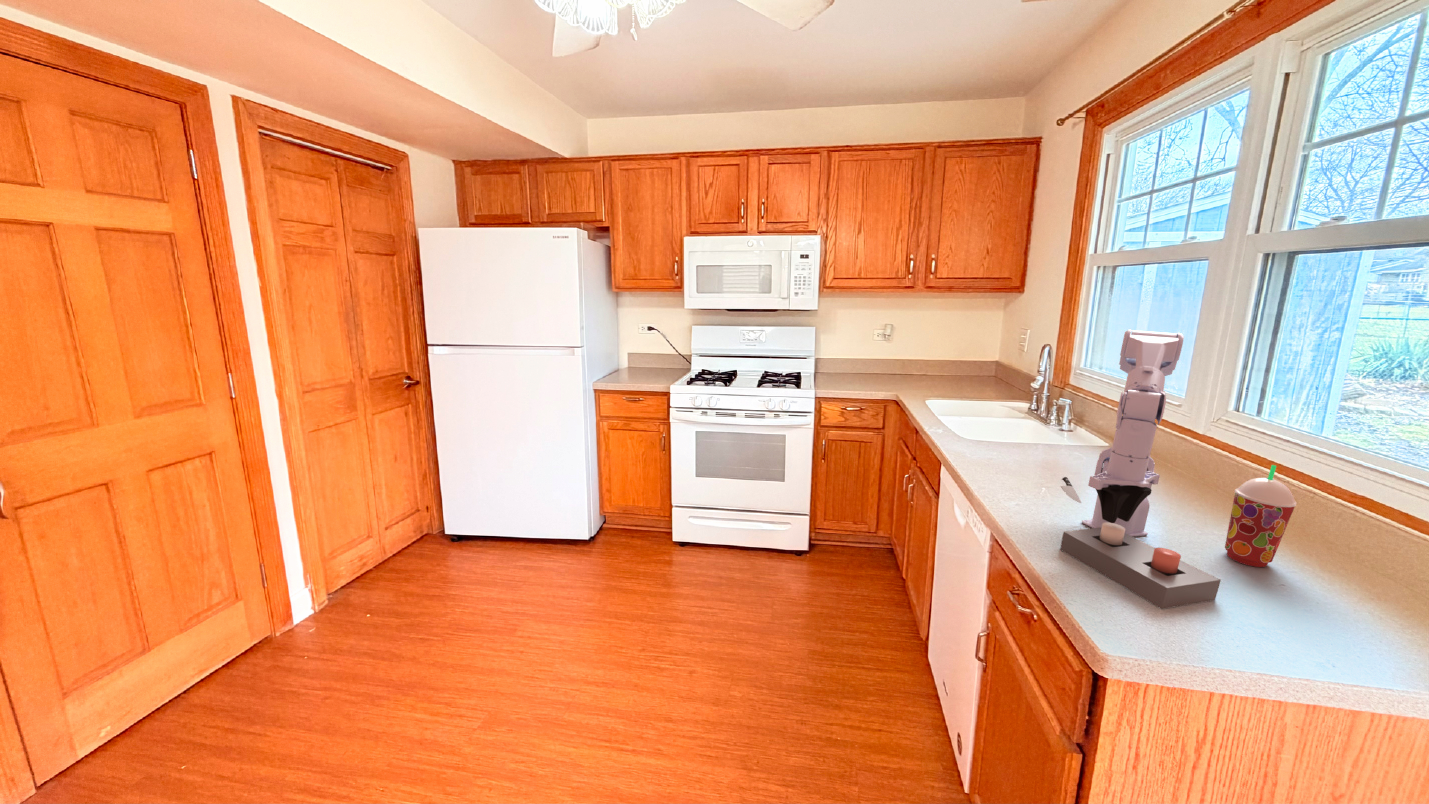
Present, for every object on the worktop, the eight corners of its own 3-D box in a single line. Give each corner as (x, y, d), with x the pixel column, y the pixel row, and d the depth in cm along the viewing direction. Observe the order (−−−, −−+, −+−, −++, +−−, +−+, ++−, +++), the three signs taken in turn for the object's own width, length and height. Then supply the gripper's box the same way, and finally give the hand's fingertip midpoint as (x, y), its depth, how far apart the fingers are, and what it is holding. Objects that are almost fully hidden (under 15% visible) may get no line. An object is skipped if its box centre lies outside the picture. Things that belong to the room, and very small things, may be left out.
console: (1106, 543, 111) (1110, 526, 110) (1214, 600, 92) (1220, 579, 91) (1060, 549, 108) (1063, 531, 107) (1161, 609, 89) (1167, 587, 88)
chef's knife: (1068, 505, 130) (1083, 507, 129) (1069, 501, 130) (1083, 502, 129) (1054, 478, 147) (1067, 479, 146) (1055, 474, 147) (1067, 476, 146)
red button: (1161, 561, 96) (1164, 546, 95) (1182, 572, 93) (1186, 556, 92) (1145, 563, 95) (1149, 548, 95) (1166, 574, 92) (1170, 559, 91)
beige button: (1109, 535, 106) (1112, 521, 105) (1126, 544, 102) (1130, 530, 101) (1094, 537, 105) (1097, 523, 104) (1112, 546, 101) (1115, 531, 101)
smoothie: (1259, 553, 108) (1287, 461, 103) (1287, 575, 100) (1318, 476, 95) (1209, 546, 111) (1234, 455, 106) (1232, 566, 103) (1259, 469, 98)
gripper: (1120, 463, 94) (1104, 533, 97) (1182, 458, 97) (1165, 526, 100) (1084, 450, 100) (1071, 516, 104) (1143, 446, 104) (1129, 510, 107)
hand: (1115, 520), depth 102 cm, fingers open, 3 cm apart
